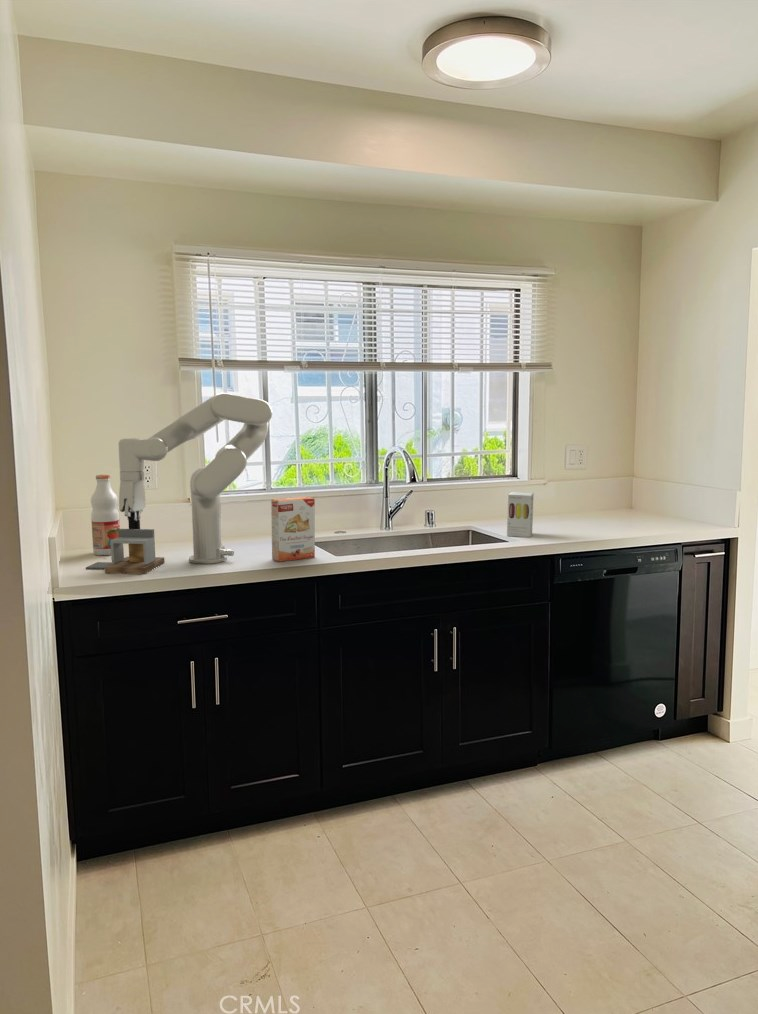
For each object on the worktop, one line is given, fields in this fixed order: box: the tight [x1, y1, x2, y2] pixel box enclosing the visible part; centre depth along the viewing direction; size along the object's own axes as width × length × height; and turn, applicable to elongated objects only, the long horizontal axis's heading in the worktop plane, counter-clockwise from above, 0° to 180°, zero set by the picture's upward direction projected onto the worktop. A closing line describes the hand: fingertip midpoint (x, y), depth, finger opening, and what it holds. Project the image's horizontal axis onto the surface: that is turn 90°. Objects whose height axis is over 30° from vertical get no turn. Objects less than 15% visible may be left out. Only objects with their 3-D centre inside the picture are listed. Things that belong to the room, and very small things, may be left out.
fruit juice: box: [90, 474, 121, 556], centre depth 265 cm, size 9×9×28 cm
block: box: [128, 544, 144, 562], centre depth 246 cm, size 5×5×8 cm
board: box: [104, 556, 166, 575], centre depth 243 cm, size 13×16×2 cm
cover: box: [110, 528, 156, 565], centre depth 241 cm, size 12×7×10 cm, turn 83°
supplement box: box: [506, 491, 534, 538], centre depth 299 cm, size 10×9×17 cm
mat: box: [85, 561, 112, 570], centre depth 245 cm, size 8×8×1 cm
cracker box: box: [270, 496, 316, 563], centre depth 256 cm, size 14×6×21 cm, turn 123°
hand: (134, 531), depth 246 cm, fingers closed
